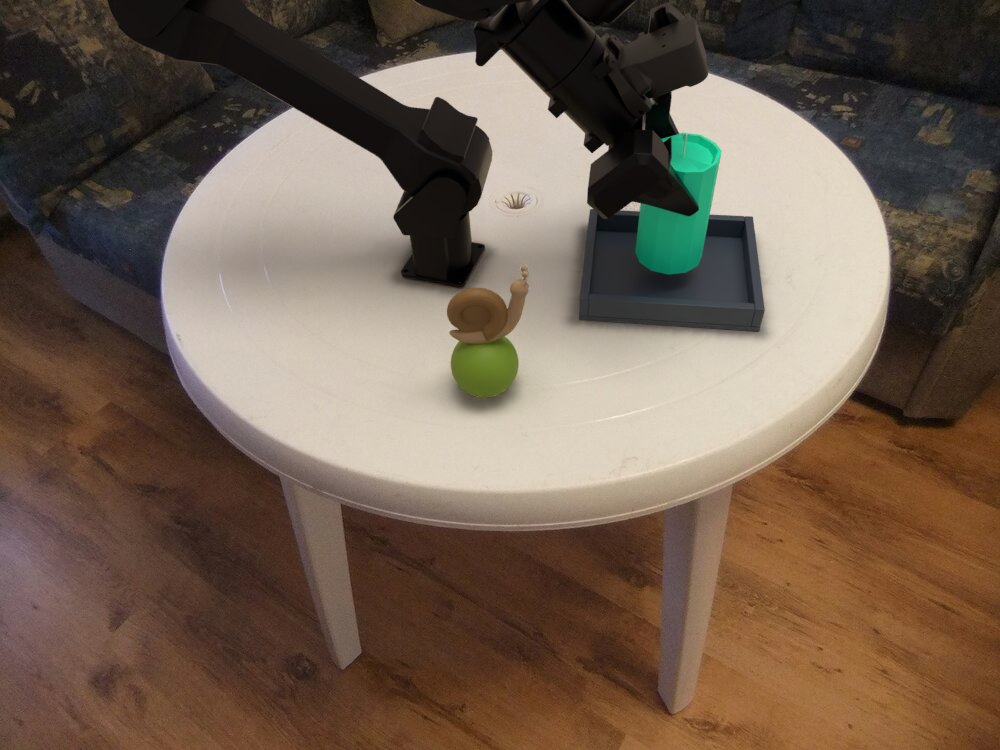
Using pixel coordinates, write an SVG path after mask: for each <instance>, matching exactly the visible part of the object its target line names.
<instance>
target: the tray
mask: <svg viewBox="0 0 1000 750" xmlns="http://www.w3.org/2000/svg"><path fill="white" fill-rule="evenodd" d="M639 214H640V210H623V209H621V210H620V211H618V212H617V213H616V214H614V215H613V216H611V217H610V218H609V219H604V218H602V217H601V216H600V215H599V214H598V213H597V212H596V211H595V210H594V209H593V208H589V213H588V222H587V231H586V239H585V247H584V248H585V249H584V256H583V265H582V274H581V282H580V290H579V302H578V320H579V321H589V322H590V321H593V322H606V323H607V322H609V323H624V324H640V325H651V326H652V325H653V326H655V325H656V326H670V327H683V328H684V327H685V328H687V327H688V328H700V329H717V330H733V331H746V332H748V331H749V332H760V330H761V325H762V322H763V319H764V314H765V311H766V307H765V302H764V301H765V300H764V293H763V284H762V278H761V277H762V276H761V269H760V261H759V260H760V259H759V255H758V254H759V253H758V246H757V239H756V238H757V237H756V230H755V229H756V228H755V222H754V216H753V215H751V216H750V215H732V214H730V215H729V214H710V216H709V221H708V226H707V232H706V237H705V242H704V247H703V253H702V257H701V259H700V262H699V265H698V266H697V267H695V268H693V269H692V270H690V271H688V272H686V273H679V274H670V275H668V274H664V273H659V272H655V271H651V270H650V269H648V268H647V267H645V266H644V265H642V264H641V263H639V260H638V258H637V255H636V253H635V249H636V240H637V231H638V222H639Z"/></svg>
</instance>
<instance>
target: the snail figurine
mask: <svg viewBox="0 0 1000 750" xmlns="http://www.w3.org/2000/svg"><path fill="white" fill-rule="evenodd" d="M520 271H521V277H522V278H523V279H522V278H517V279H515V280H513V281H512V282H511V284H510V286H509V292H510V295H511V296H510V299H509V303H508V306H507V304H506V302H505V300H504V299H503V297H501V296H500V294H498V293H497V292H495V291H493V290H491V289H489V288H485V287H469V288H466V289H463V290H461V291H458V292H457V293H456V294H454V295H453V296H452V298H451V299H450V300H449V302H448V304H447V308H446V316H447V319H448V321H449V323H450V324H451V325H452V326H453V327H454V328H456V329H451V330H449V332H448V333H449V335H450V336H451V337H452V338H453V339H455V340H457V341H458V342H457V343H456V345H455V346H454V348H453V350H452V353H451V357H450V370H451V374H452V377H453V379H454V381H455V383H456V384H457V386H458V387H460V389H461V390H463V391H464V392H466V394H469V395H471V396H474V397H477V398H492V397H496V396H498V395H501V394H502V393H504V392H506V391H507V390H508V389H509V388H510V387H511V386H512V385H513V383H514V382H515V379H516V377H517V375H518V371H519V362H520V361H519V356H518V352H517V350H516V348H515V346H514V344H513V342H511V340H510V339H509V338H508V337H507V336H509V334H511V332H513V331H514V330H515V328H516V327H517V326H518V324H519V322H520V320H521V317H522V314H523V311H524V307H525V304H526V298H527V295H528V294H529V288H530V284H529V283H528V282H527V279H528V277H529V271H528V265H526V264H522V265H521V266H520Z"/></svg>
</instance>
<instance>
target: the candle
mask: <svg viewBox="0 0 1000 750" xmlns="http://www.w3.org/2000/svg"><path fill="white" fill-rule="evenodd" d="M670 137H671V138H672V159H671V162H670V164H671V165H672V167H673V168H674V170H675V171H676V173H677V174H678V176H679V177H680V178H681V180H682V182H683V183H684V185H685V186H686V188H687V189H688V190H689V192H690V193H691V195H692V196H693V198H694V199H695V201H696V202H697V204H698V206H699V210H698V211H697V212H696V213H694V214H693V215H691V216H685V215H682V214H678V213H675V212H671V211H668V210H664V209H661V208H657V207H654V206H650V205H646V204H642V203H640V206H639V211H640V214H639V222H638V231H637V240H636V249H635V253H636V255H637V258H638V260H639V263H641V264H642V265H644V266H645V267H647V268H648V269H650V270H651V271H655V272H659V273H664V274H668V275H670V274H679V273H686V272H688V271H690V270H692V269H693V268H695V267H697V266H698V265H699V262H700V259H701V257H702V253H703V247H704V242H705V237H706V232H707V226H708V221H709V216H710V215H711V210H712V204H713V201H714V200H713V199H714V194H715V189H716V184H717V179H718V172H719V167H720V164H721V163H720V162H721V158H722V149H721V147H719V145H718V144H717V143H716V142H715V141H713V140H711V139H710V138H708V137H706V136H705V135H703V134H698V133H690V132H679V134H677V135H673V136H670ZM670 137H667V138H663V139H662V141H663V142H665V141H666V140H667V139H669V138H670Z"/></svg>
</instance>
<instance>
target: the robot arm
mask: <svg viewBox="0 0 1000 750" xmlns="http://www.w3.org/2000/svg"><path fill="white" fill-rule="evenodd" d="M106 1H107V4H108V7H109V10H110V13H111V14H112V16H113V18H114V19H115V22H116V27H117V28H118V29H119V30H120V32H122V33H123V35H124V36H126V37H127V38H128V39H129V40H131V41H132V42H134V43H135V44H138V45H140V46H142V47H144V48H146V49H149V50H151V51H153V52H156V53H159V54H161V55H164V56H166V57H169V58H171V59H173V60H176V61H179V62H180V61H181V62H188V63H196V64H204V65H205V64H206V65H213V66H214V65H215V66H217V67H221V68H224V69H226V70H228V71H230V72H231V73H233V74H235V75H236V76H238V77H239V78H242V79H244V80H245V81H247V82H248V83H250V84H251V85H254V86H255V87H257V88H259V89H261V90H262V91H264V92H266V93H267V94H269V95H270V96H272V97H274V98H276V99H278V100H279V101H281V102H283V103H284V104H286V105H287V106H290V107H291V108H293V109H295V110H296V111H298V112H300V113H302V114H303V115H305V116H307V117H309V118H310V119H312V120H313V121H316V122H317V123H319V124H321V125H322V126H323V127H326V128H327V129H329V130H331V131H333V132H334V133H336V134H338V135H340V136H341V137H343V138H345V139H346V140H348V141H350V142H352V143H353V144H355V145H357V146H358V147H360V148H362V149H364V150H365V151H367V152H369V153H370V154H372V155H374V156H376V158H377V159H380V161H381V162H382V163H383V165H384V166H385V167H386V169H387V170H388V172H389V173H390V174H391V176H392V177H393V179H394V180H395V181H396V183H397V184H398V186H399V187H400V188H401V190H403V193H402V194H401V197H400V199H399V201H398V204H397V206H396V209H395V212H394V213H393V217H392V218H393V220H394V222H395V224H396V226H397V227H398V229H399V231H400V233H401V235H403V236H409V240H410V248H411V255H410V256H409V257H408V259H407V261H406V262H405V264H404V266H403V267H402V268H401V270H400V275H401V277H402V278H405V279H410V280H415V281H421V282H426V283H430V284H436V285H441V286H445V287H446V286H447V287H452V288H455V289H456V288H457V289H463V288H464V287H465V286H466V285H467V284H468V281H469V280H470V278H471V276H472V275H473V272H474V271H475V269H476V268H477V266H478V264H479V263H480V260H481V259H482V257H483V256H484V253H485V252H486V245H485V244H483V243H479V242H473V241H472V230H471V218H470V213H471V212H472V211H473V210H474V209H475V208H476V207H477V206H478V204H479V203H480V200H481V198H482V195H483V192H484V188H485V186H486V182H487V178H488V174H489V172H490V168H491V166H492V165H491V164H492V161H493V149H492V145H491V142H490V137H489V136H488V135H487V133H486V132H485V131H484V130H483V129H482V128H481V127H479V126H478V124H477V123H478V120H479V118H478V117H476V116H472V115H467V114H466V113H463V112H462V111H459V110H458V109H457V108H455V107H454V106H453V105H452V104H451V103H449V101H448V100H446V99H444V98H443V97H440V96H436V97H434V99H433V102H432V103H431V106H430V108H423V107H413V106H408V105H405V104H404V103H402V102H400V101H398V100H396V98H395V99H394V98H393V97H392V96H390V95H388V94H387V93H385V92H383V91H382V90H380V89H378V88H377V87H375V86H374V85H372V84H370V83H369V82H367V81H366V80H364V79H362V78H360V77H359V76H357V75H355V74H354V73H352V72H351V71H349V70H347V69H345V68H344V67H342V66H340V65H339V64H338V63H335V62H334V61H333V60H331V59H329V58H327V57H326V56H324V55H323V54H320V53H319V52H318V51H316V50H314V49H313V48H311V47H310V46H308V45H306V44H304V43H303V42H301V41H300V40H297V38H295V37H293V36H292V35H290V34H288V33H286V32H285V31H283V30H281V29H280V28H279V27H276V26H275V25H273V24H272V23H270V22H268V21H267V20H265V19H263V18H261V17H260V16H258V15H256V14H255V13H254V12H253V11H252V10H250V9H249V8H248V7H247V6H246V4H245V3H244V1H243V0H106ZM412 1H413V2H414V3H415V4H417V5H419V6H420V7H422V8H425V9H428V10H431V11H433V12H436V13H439V14H443V15H445V16H448V17H451V18H454V19H456V20H460V21H463V22H466V23H467V22H468V23H471V22H472V23H473V22H475V23H474V25H473V26H474V27H473V29H472V34H473V36H474V40H475V59H474V60H475V61H474V62H475V64H476V65H477V66H478V67H484V66H485V65H486V64H488V62H489V61H490V60H491V59H492V58H493V57H494V56H495V55H496V54H497V53H498V52H499V51H500V50H501V51H502V52H503V53H504V54H505V55H506V56H507V57H508V58H509V59H510V60H511V62H513V63H514V64H515V65H516V66H517V67H518V68H519V69H520V70H521V71H522V72H523V73H524V74H525V75H526V76H527V77H528V78H529V79H530V80H531V81H532V82H533V83H534V84H535V85H536V86H537V87H538V88H539V89H540V90H541V91H542V92H543V93H544V94H545V95H546V96H547V97H548V98H549V101H548V105H547V110H548V112H549V113H550V114H551V115H552V116H553V117H555V118H556V119H558V118H559V117H560V116H561V115H563V113H564V114H565V115H566V116H567V117H568V118H569V119H570V120H571V121H572V122H573V123H574V124H575V125H576V126H577V127H578V128H579V130H581V131H582V132H583V133H584V139H583V146H584V147H585V149H586V150H587V151H589V152H590V153H591V154H593V153H595V152H596V151H597V150H599V149H600V148H601V147H603V145H605V146H606V147H608V150H607V151H606V152H604V153H603V154H602V155H601V156H598V158H597V159H595V160H594V161H593V162H592V163H591V164H590V167H589V176H588V184H587V193H586V194H587V195H586V199H587V200H586V204H587V205H588V206H589V207H590V208H591V209H594V210H595V211H596V212H597V213H598V214H599V215H600V216H601V217H602V218H604V219H609V218H610V217H611V216H613V215H614V214H616V213H617V212H618V211H620V210H623V209H624V208H625V207H627V206H628V205H629V204H631V203H632V202H633V203H637V204H641V203H642V204H646V205H650V206H654V207H657V208H661V209H664V210H668V211H671V212H675V213H678V214H682V215H685V216H691V215H693V214H694V213H696V212H697V211H698V210H699V206H698V204H697V202H696V201H695V199H694V198H693V196H692V195H691V193H690V192H689V190H688V189H687V188H686V186H685V185H684V183H683V182H682V180H681V178H680V177H679V176H678V174H677V173H676V171H675V170H674V168H673V167H672V165H671V164H670V162H671V159H672V138H671V137H670V136H673V135H677V134H680V132H679V130H678V128H677V126H676V124H675V122H674V119H673V117H672V115H671V107H672V106H671V105H672V99H673V98H672V97H673V95H672V92H674V91H676V90H680V89H683V88H684V87H685V88H686V87H689V88H691V87H692V88H693V87H694V86H697V85H699V84H701V83H702V82H704V81H705V80H706V79H707V78H708V76H709V69H708V55H707V52H706V49H705V46H704V42H703V39H702V37H701V33H700V31H699V25H698V22H697V21H696V18H695V17H692V16H691V13H690V12H687V13H685V14H683V13H682V12H680V10H678V9H677V8H676V7H675V6H674V5H673V4H672V3H670V2H669V1H666V2H665V3H662V4H660V5H659V4H658V5H657V6H654V7H653V8H651V9H650V15H649V22H648V31H647V33H646V34H645V31H641V32H639V33H638V37H637V39H635V40H633V41H631V42H628V43H627V44H624V43H622V41H620V40H619V38H618V37H617V36H616V35H615V34H611V35H610V34H609V33H608V32H606V33H605V34H604V35H602V37H600V36H599V35H598V34H597V32H595V30H594V29H593V28H592V27H591V26H590V24H589V23H592V24H593V25H595V26H596V27H598V26H599V25H600V24H601V23H606V24H613V23H614V22H615V21H616V20H618V19H619V17H621V15H623V14H624V13H625V12H626V11H627V10H628V9H629V8H630V7H631V6H633V5H634V4H635V3H636V2H638V0H412ZM501 7H503V8H502V9H501ZM499 10H500V11H499ZM498 11H499V12H498ZM496 12H498V13H497V14H496V15H494V16H492V15H493V14H495V13H496ZM587 22H588V23H587ZM667 137H670V138H669V139H667V140H666V141H665V142H663V141H662V139H663V138H667Z"/></svg>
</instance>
